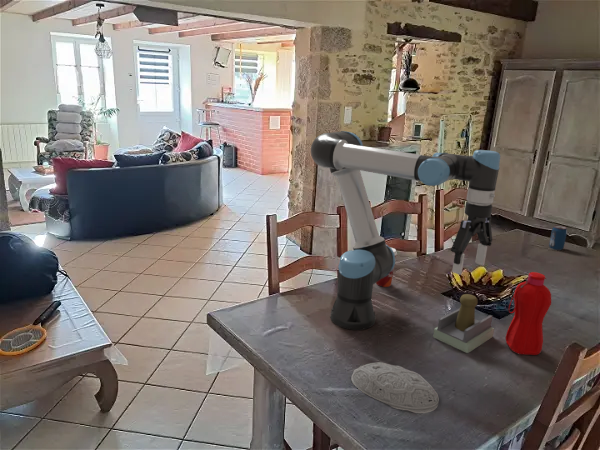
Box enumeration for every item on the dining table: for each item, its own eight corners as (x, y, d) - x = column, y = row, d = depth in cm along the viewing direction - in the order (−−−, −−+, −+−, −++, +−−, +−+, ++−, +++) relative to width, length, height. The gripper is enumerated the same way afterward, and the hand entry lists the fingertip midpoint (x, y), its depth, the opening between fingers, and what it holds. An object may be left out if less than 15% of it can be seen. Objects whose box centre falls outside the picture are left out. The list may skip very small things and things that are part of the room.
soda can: (564, 248, 240) (569, 227, 237) (561, 251, 235) (565, 229, 232) (550, 245, 245) (555, 224, 241) (546, 248, 240) (551, 226, 236)
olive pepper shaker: (475, 325, 147) (480, 294, 144) (473, 333, 142) (478, 301, 138) (455, 321, 149) (460, 290, 146) (453, 329, 144) (458, 297, 141)
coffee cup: (395, 288, 181) (399, 253, 177) (374, 287, 181) (378, 252, 177) (391, 280, 189) (395, 246, 185) (372, 279, 190) (375, 245, 185)
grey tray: (467, 353, 137) (470, 332, 135) (433, 337, 146) (435, 317, 144) (492, 336, 147) (496, 317, 145) (459, 322, 156) (462, 304, 154)
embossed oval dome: (434, 422, 107) (437, 395, 106) (338, 391, 119) (339, 367, 118) (448, 393, 120) (450, 369, 119) (360, 368, 132) (361, 346, 131)
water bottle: (496, 339, 145) (509, 267, 138) (530, 341, 145) (545, 268, 138) (507, 355, 137) (522, 279, 130) (544, 357, 136) (561, 280, 129)
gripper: (468, 210, 125) (457, 281, 131) (511, 200, 141) (499, 264, 147) (445, 205, 131) (435, 273, 137) (488, 195, 146) (477, 257, 152)
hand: (468, 268), depth 142 cm, fingers open, 13 cm apart
